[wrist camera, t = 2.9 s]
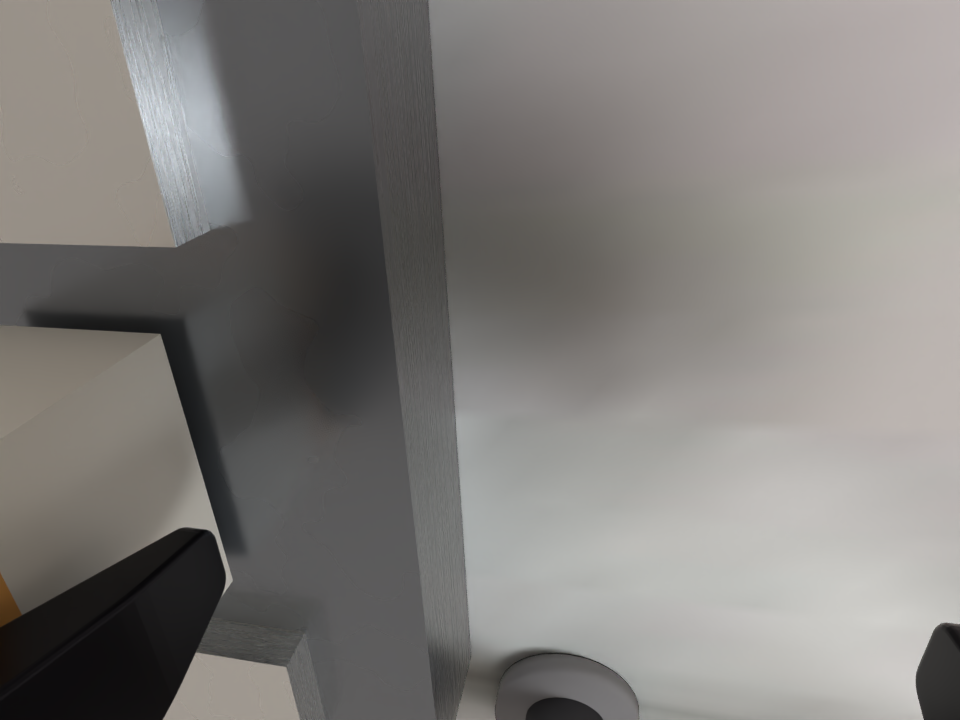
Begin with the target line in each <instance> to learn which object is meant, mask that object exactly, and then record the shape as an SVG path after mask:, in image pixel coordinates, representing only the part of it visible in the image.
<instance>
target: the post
mask: <svg viewBox="0 0 960 720" xmlns="http://www.w3.org/2000/svg"><path fill="white" fill-rule="evenodd" d="M495 716H496V720H639V706H638V701H637V698H636V696H635V694H634V692H633V690H632V689H631V687H630V686H629V685H628V684H627V683H626V682H625V681H624V680H623V679H622V678H621V677H620V676H619V675H617V674H616V673H615V672H613V671H612V670H610V669H608V668H607V667H605V666H603V665H601V664H599V663H597V662H594V661H591V660H589V659H585V658H582V657H578V656H573V655H566V654H542V655H536V656H532V657H528V658H525V659H523V660H521V661H518V662H517V663H515V664H514V665H512V666H511V667H510V668H509V669H508V670H507V671H506V672H505V673H504V675H503V677H502V678H501V681H500V685H499V690H498V695H497V700H496V705H495Z"/></svg>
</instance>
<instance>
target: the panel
mask: <svg viewBox="0 0 960 720" xmlns="http://www.w3.org/2000/svg"><path fill="white" fill-rule="evenodd" d="M0 325H8V326H26V327H44V328H63V329H81V330H99V331H117V332H135V333H153V334H161V337H162V340H163V344H164V347H165V351H166V354H167V357H168V361H169V364H170V368H171V371H172V374H173V378H174V381H175V385H176V388H177V391H178V395H179V398H180V402H181V405H182V409H183V412H184V415H185V419H186V422H187V426H188V429H189V432H190V436H191V439H192V443H193V446H194V449H195V453H196V456H197V460H198V463H199V466H200V470H201V473H202V477H203V480H204V483H205V487H206V490H207V494H208V497H209V500H210V504H211V507H212V511H213V514H214V517H215V521H216V524H217V528H218V531H219V534H220V538H221V541H222V545H223V548H224V552H225V555H226V558H227V562H228V565H229V569H230V572H231V575H232V579H233V581H232V583H231V584H230V586H229V587H228V588H227V590H226V591H225V593H224V594H223V595H222V597H221V598H220V601H219V603H218V605H217V607H216V609H215V612H214V614H213V616H212V618H211V620H210V623H209V625H208V627H207V629H206V631H205V634H204V636H203V638H202V640H201V642H200V645H199V647H198V649H197V651H196V653H195V656H194V658H193V660H192V662H191V664H190V667H189V669H188V671H187V673H186V675H185V678H184V680H183V682H182V684H181V686H180V688H179V690H178V692H177V694H176V696H175V698H174V700H173V702H172V704H171V706H170V708H169V709H168V711H167V713H166V715H165V717H164V719H163V720H456V716H457V712H458V708H459V704H460V700H461V696H462V692H463V688H464V683H465V679H466V675H467V671H468V667H469V663H470V659H471V649H470V634H469V619H468V604H467V589H466V573H465V558H464V543H463V528H462V513H461V497H460V482H459V467H458V452H457V437H456V421H455V406H454V391H453V376H452V361H451V345H450V330H449V315H448V300H447V285H446V269H445V254H444V239H443V224H442V209H441V193H440V178H439V163H438V148H437V133H436V117H435V102H434V87H433V72H432V56H431V41H430V26H429V11H428V0H0Z"/></svg>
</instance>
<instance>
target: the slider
mask: <svg viewBox="0 0 960 720" xmlns="http://www.w3.org/2000/svg"><path fill="white" fill-rule="evenodd" d="M183 527H190V528H198V529H206V530H209V531H211V532H212V533H213V534H214V535H215V538H216V541H217V544H218V548H219V551H220V554H221V558H222V561H223V565H224V568H225V572H226V584H225V588H224V591H223V594H224V593H225V591H226V590H227V588H228V587H229V586H230V584H231V583H232V581H233V579H232V575H231V572H230V569H229V565H228V562H227V558H226V555H225V552H224V548H223V545H222V541H221V538H220V534H219V531H218V528H217V524H216V521H215V517H214V514H213V511H212V507H211V504H210V500H209V497H208V494H207V490H206V487H205V483H204V480H203V477H202V473H201V470H200V466H199V463H198V460H197V456H196V453H195V449H194V446H193V443H192V439H191V436H190V432H189V429H188V426H187V422H186V419H185V415H184V412H183V409H182V405H181V402H180V398H179V395H178V391H177V388H176V385H175V381H174V378H173V374H172V371H171V368H170V364H169V361H168V357H167V354H166V351H165V347H164V344H163V340H162V337H161V334H153V333H135V332H117V331H99V330H81V329H63V328H44V327H26V326H8V325H0V627H1V626H3V625H5V624H7V623H9V622H10V621H12V620H14V619H16V618H18V617H19V616H21V615H23V614H25V613H27V612H28V611H30V610H32V609H34V608H36V607H38V606H39V605H41V604H43V603H45V602H47V601H48V600H50V599H52V598H54V597H56V596H57V595H59V594H61V593H63V592H65V591H66V590H68V589H70V588H72V587H74V586H76V585H77V584H79V583H81V582H83V581H85V580H86V579H88V578H90V577H92V576H94V575H95V574H97V573H99V572H101V571H103V570H104V569H106V568H108V567H110V566H112V565H113V564H115V563H117V562H119V561H121V560H123V559H124V558H126V557H128V556H130V555H132V554H133V553H135V552H137V551H139V550H141V549H142V548H144V547H146V546H148V545H150V544H151V543H153V542H155V541H157V540H159V539H160V538H162V537H164V536H166V535H168V534H170V533H171V532H173V531H175V530H177V529H179V528H183ZM223 594H222V595H223ZM221 597H222V596H221Z"/></svg>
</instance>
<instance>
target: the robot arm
mask: <svg viewBox="0 0 960 720" xmlns="http://www.w3.org/2000/svg"><path fill="white" fill-rule="evenodd" d="M225 584H226V572H225V568H224V565H223V561H222V558H221V554H220V551H219V548H218V544H217V541H216V538H215V535H214V534H213V533H212V532H211V531H209V530H206V529H198V528H190V527H183V528H179V529H177V530H175V531H173V532H171V533H170V534H168V535H166V536H164V537H162V538H160V539H159V540H157V541H155V542H153V543H151V544H150V545H148V546H146V547H144V548H142V549H141V550H139V551H137V552H135V553H133V554H132V555H130V556H128V557H126V558H124V559H123V560H121V561H119V562H117V563H115V564H113V565H112V566H110V567H108V568H106V569H104V570H103V571H101V572H99V573H97V574H95V575H94V576H92V577H90V578H88V579H86V580H85V581H83V582H81V583H79V584H77V585H76V586H74V587H72V588H70V589H68V590H66V591H65V592H63V593H61V594H59V595H57V596H56V597H54V598H52V599H50V600H48V601H47V602H45V603H43V604H41V605H39V606H38V607H36V608H34V609H32V610H30V611H28V612H27V613H25V614H23V615H21V616H19V617H18V618H16V619H14V620H12V621H10V622H9V623H7V624H5V625H3V626H1V627H0V720H163V719H164V717H165V715H166V713H167V711H168V709H169V708H170V706H171V704H172V702H173V700H174V698H175V696H176V694H177V692H178V690H179V688H180V686H181V684H182V682H183V680H184V678H185V675H186V673H187V671H188V669H189V667H190V664H191V662H192V660H193V658H194V656H195V653H196V651H197V649H198V647H199V645H200V642H201V640H202V638H203V636H204V634H205V631H206V629H207V627H208V625H209V623H210V620H211V618H212V616H213V614H214V612H215V609H216V607H217V605H218V603H219V601H220V598H221V596H222V594H223V591H224V588H225ZM916 690H917V695H918V699H919V703H920V707H921V711H922V714H923V718H924V720H960V624H952V623H941V624H940V625H938V626H937V627H936V628H935V630H934V631H933V633H932V636H931V638H930V641H929V643H928V645H927V648H926V650H925V652H924V655H923V657H922V659H921V662H920V664H919V666H918V669H917V673H916Z"/></svg>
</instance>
